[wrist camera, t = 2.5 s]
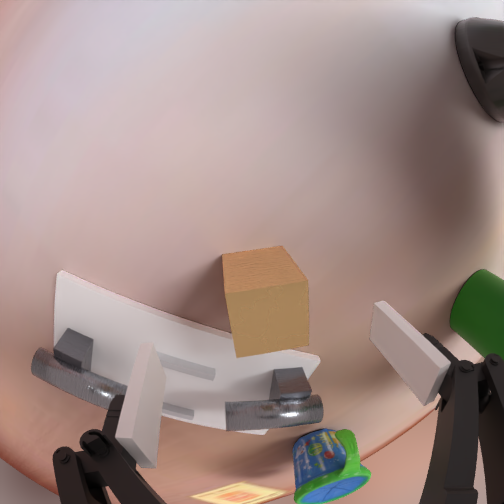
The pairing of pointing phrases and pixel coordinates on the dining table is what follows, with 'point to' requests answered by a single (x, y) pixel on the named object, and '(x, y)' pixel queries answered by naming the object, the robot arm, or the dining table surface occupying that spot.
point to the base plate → (169, 352)
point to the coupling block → (265, 301)
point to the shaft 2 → (277, 405)
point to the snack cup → (327, 466)
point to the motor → (481, 313)
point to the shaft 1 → (75, 370)
